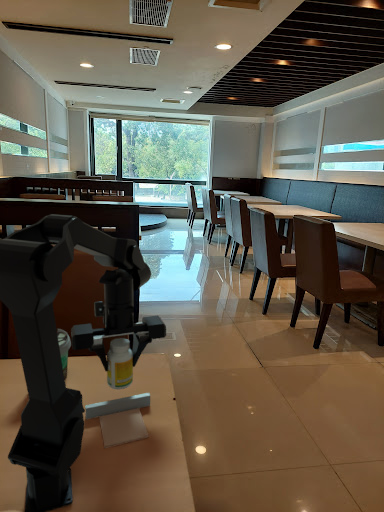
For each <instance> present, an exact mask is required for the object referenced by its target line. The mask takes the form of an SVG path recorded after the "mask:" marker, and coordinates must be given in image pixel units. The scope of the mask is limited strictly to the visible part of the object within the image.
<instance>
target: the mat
mask: <svg viewBox="0 0 384 512" xmlns="http://www.w3.org/2000/svg"><path fill="white" fill-rule="evenodd" d="M140 409H141V408H137V409H132V410H128V411H123V412H118V413H114V414H109V415H104V416H100V417H99V424H100V428H101V429H100V430H101V434H102V441H103V446H104V449H107V448H110V447H115V446H119V445H123V444H127V443H131V442H135V441H139V440H143V439H148V438H149V433H148V431H147V430H148V429H147V427H146V425H145V421H144V418H143V415H142V413H141V410H140Z"/></svg>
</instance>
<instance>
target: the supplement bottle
mask: <svg viewBox="0 0 384 512" xmlns="http://www.w3.org/2000/svg"><path fill="white" fill-rule="evenodd" d="M130 343H131V341H130V340H129V339H128V338H125V337H118V338H114V339H112V340H111V341H110V344H109V350H108V352H107V353H106V359H107V365H108V371H106V374H107V375H106V381H107V382H106V383H107V385H108V387H109V388H111V389H112V390H124V389H127V388H129V387H130V386H131V385H132V383H133V381H134V380H133V377H134V376H133V375H134V367H133V353H132V351H133V350H132V349H131V344H130Z"/></svg>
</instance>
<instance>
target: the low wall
mask: <svg viewBox="0 0 384 512" xmlns="http://www.w3.org/2000/svg"><path fill="white" fill-rule="evenodd" d="M150 406H151V394H150V392H145V393H140V394H135V395H130V396H125V397H120V398H115V399H111V400H106V401H100V402H96V403H90V404H86V405H85V407H84V409H85V420H90V419H94V418H98V417H100V416H104V415H109V414H114V413H118V412H123V411H128V410H132V409H137V408H139V409H141V408H145V407H150Z"/></svg>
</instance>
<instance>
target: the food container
mask: <svg viewBox="0 0 384 512" xmlns="http://www.w3.org/2000/svg"><path fill="white" fill-rule="evenodd" d="M57 335H58V342H59V348H60V354H61V361H62V367H63V373H64V380H65V381H66V379H67V378H68V360H69V350H70V348H71V346H72V340H71V338H70V336H69V334H68V332H67V331H65V330H64V329H61V328H57Z"/></svg>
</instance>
